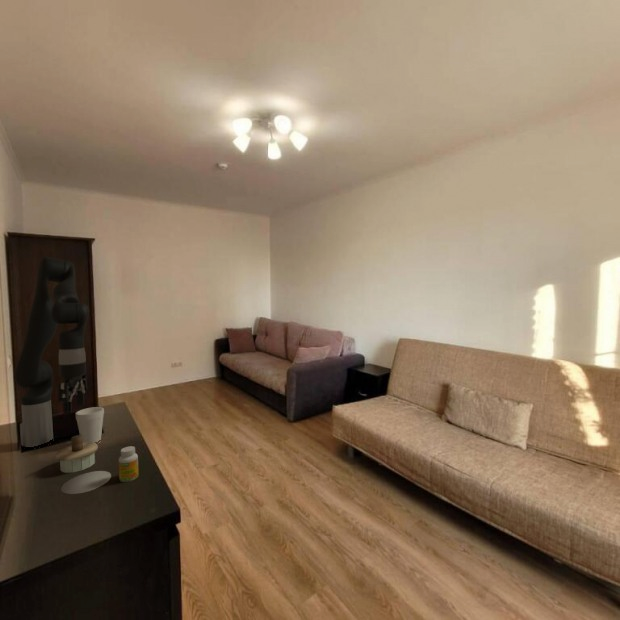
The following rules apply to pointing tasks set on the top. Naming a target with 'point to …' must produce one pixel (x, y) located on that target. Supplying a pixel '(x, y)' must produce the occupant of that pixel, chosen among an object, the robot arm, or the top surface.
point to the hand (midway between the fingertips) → (74, 408)
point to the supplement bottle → (128, 464)
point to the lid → (77, 449)
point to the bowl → (77, 464)
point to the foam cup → (90, 423)
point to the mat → (86, 482)
